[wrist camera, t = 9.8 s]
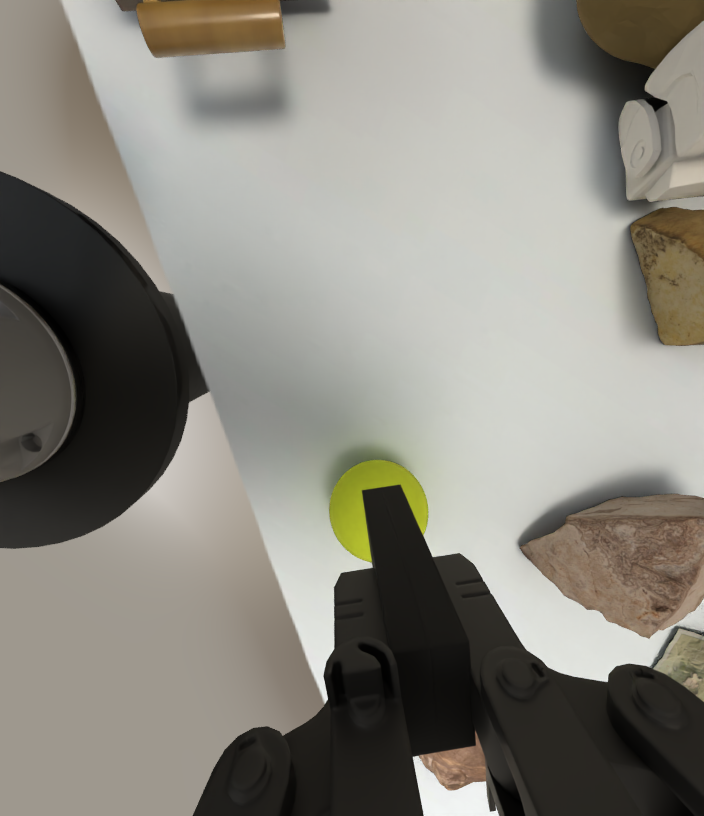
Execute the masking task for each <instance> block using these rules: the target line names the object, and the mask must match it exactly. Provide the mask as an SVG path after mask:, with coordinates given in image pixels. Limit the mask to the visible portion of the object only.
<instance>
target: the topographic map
mask: <svg viewBox="0 0 704 816" xmlns="http://www.w3.org/2000/svg"><path fill="white" fill-rule="evenodd" d="M653 669H654V670H657V671H659V672H662V673H664V674H666V675H668V676H669V677H671V678H672V679H674V680H675V681H677V682H678V683H680V684H681V685H683V686H684V687H686V688H687V689H688V690H690V691H691V692H692V693H693V694H695V695H696V696H697V697H698V698H700V699H701V700H702V701H703V702H704V636H702V635H699V634H696V633H694V632H689V631H686V630H683V629H678V632H677V634H676V635H675V637H674V638H673V640H672V641H671V642H670V643H669V646H668V647H667V648H666V651H665V654H664V655H663V657H662V659H660V660H659V661H658V663H657V665H656V666H655V667H654V668H653Z"/></svg>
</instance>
